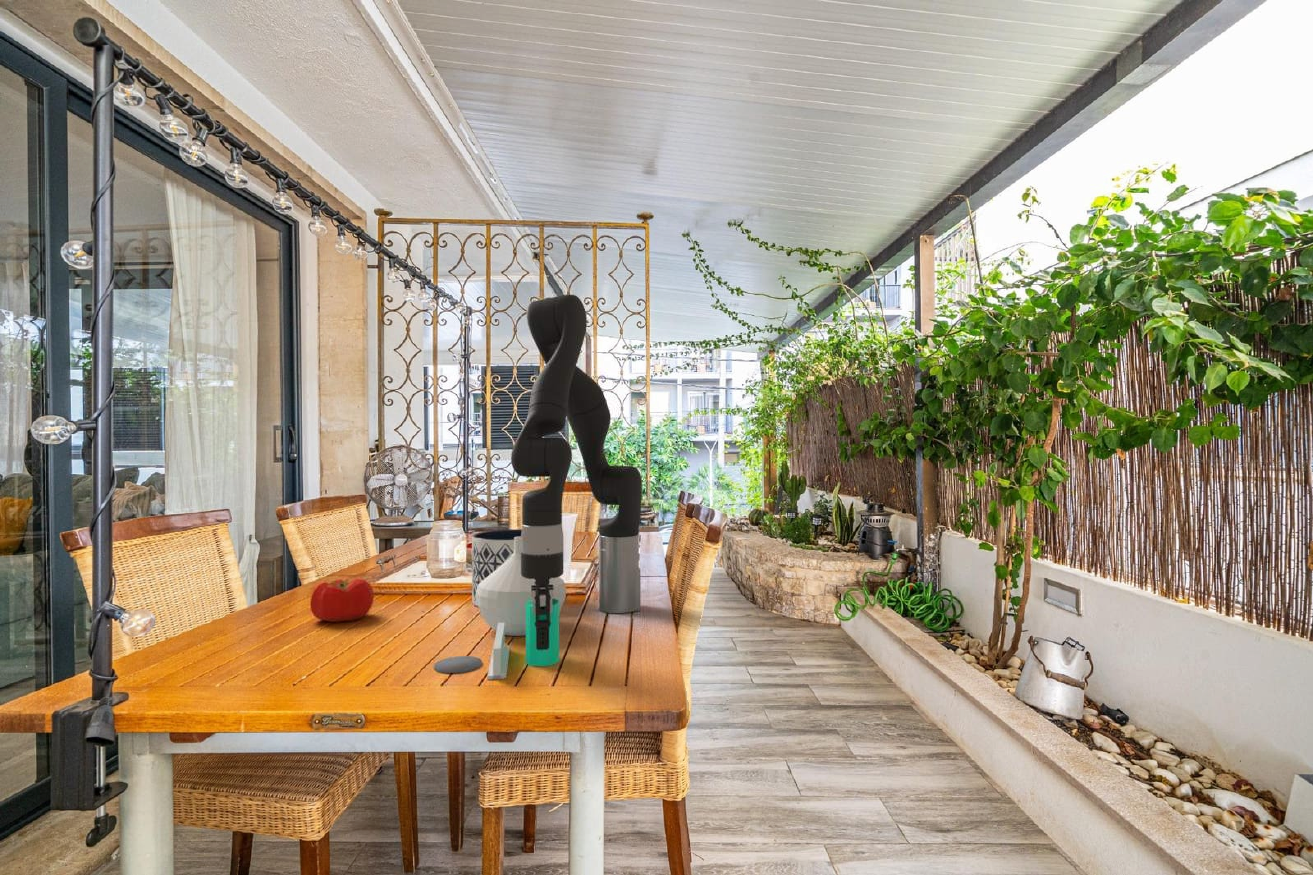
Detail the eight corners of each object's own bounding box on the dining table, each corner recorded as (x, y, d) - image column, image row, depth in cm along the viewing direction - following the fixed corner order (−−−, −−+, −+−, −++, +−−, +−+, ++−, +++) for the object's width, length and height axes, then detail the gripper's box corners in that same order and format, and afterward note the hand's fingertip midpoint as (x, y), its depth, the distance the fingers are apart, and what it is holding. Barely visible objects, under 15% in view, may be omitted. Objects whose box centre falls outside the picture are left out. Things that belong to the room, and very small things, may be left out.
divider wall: (509, 648, 128) (509, 622, 128) (506, 678, 112) (506, 648, 112) (493, 649, 127) (493, 623, 127) (487, 679, 111) (487, 649, 111)
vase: (457, 637, 135) (457, 541, 135) (507, 614, 153) (507, 529, 153) (537, 646, 129) (537, 546, 129) (581, 622, 146) (580, 533, 146)
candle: (563, 656, 123) (562, 590, 124) (554, 667, 118) (554, 597, 118) (530, 655, 124) (530, 589, 124) (521, 665, 118) (520, 597, 118)
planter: (513, 590, 178) (513, 527, 178) (564, 599, 167) (563, 533, 167) (456, 604, 163) (456, 535, 163) (507, 615, 152) (507, 542, 152)
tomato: (377, 610, 157) (377, 573, 157) (369, 624, 145) (369, 584, 145) (317, 614, 154) (317, 576, 154) (304, 628, 142) (304, 588, 142)
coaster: (483, 657, 123) (483, 654, 123) (480, 672, 115) (480, 669, 115) (437, 659, 122) (437, 657, 122) (430, 675, 114) (430, 672, 114)
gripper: (565, 555, 115) (565, 655, 115) (561, 542, 129) (562, 631, 129) (519, 557, 113) (520, 658, 113) (521, 543, 127) (521, 633, 128)
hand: (542, 643), depth 121 cm, fingers closed on candle, 5 cm apart
